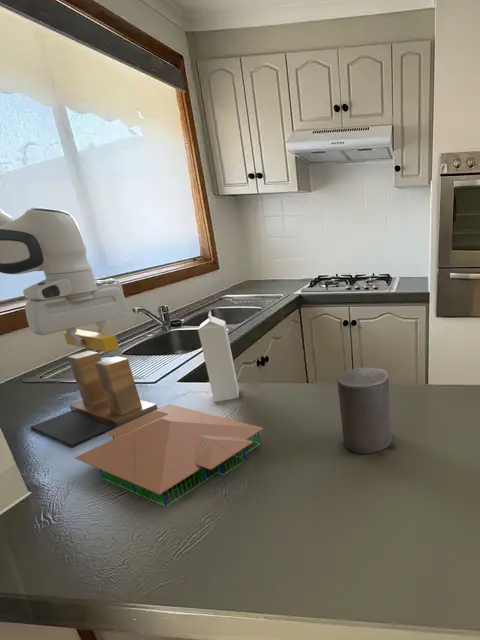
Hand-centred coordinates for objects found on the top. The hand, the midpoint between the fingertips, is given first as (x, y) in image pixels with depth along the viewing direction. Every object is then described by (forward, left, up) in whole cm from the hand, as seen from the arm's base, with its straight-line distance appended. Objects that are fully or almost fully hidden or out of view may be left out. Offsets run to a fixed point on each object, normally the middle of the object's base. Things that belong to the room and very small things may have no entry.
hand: (91, 343), depth 100 cm
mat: (-10, -1, -18) cm, 20 cm away
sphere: (+12, +24, -18) cm, 32 cm away
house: (-7, -35, -18) cm, 40 cm away
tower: (0, 0, -18) cm, 18 cm away
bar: (0, 0, -1) cm, 1 cm away
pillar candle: (+14, -67, -18) cm, 71 cm away
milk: (+18, -21, -18) cm, 33 cm away
